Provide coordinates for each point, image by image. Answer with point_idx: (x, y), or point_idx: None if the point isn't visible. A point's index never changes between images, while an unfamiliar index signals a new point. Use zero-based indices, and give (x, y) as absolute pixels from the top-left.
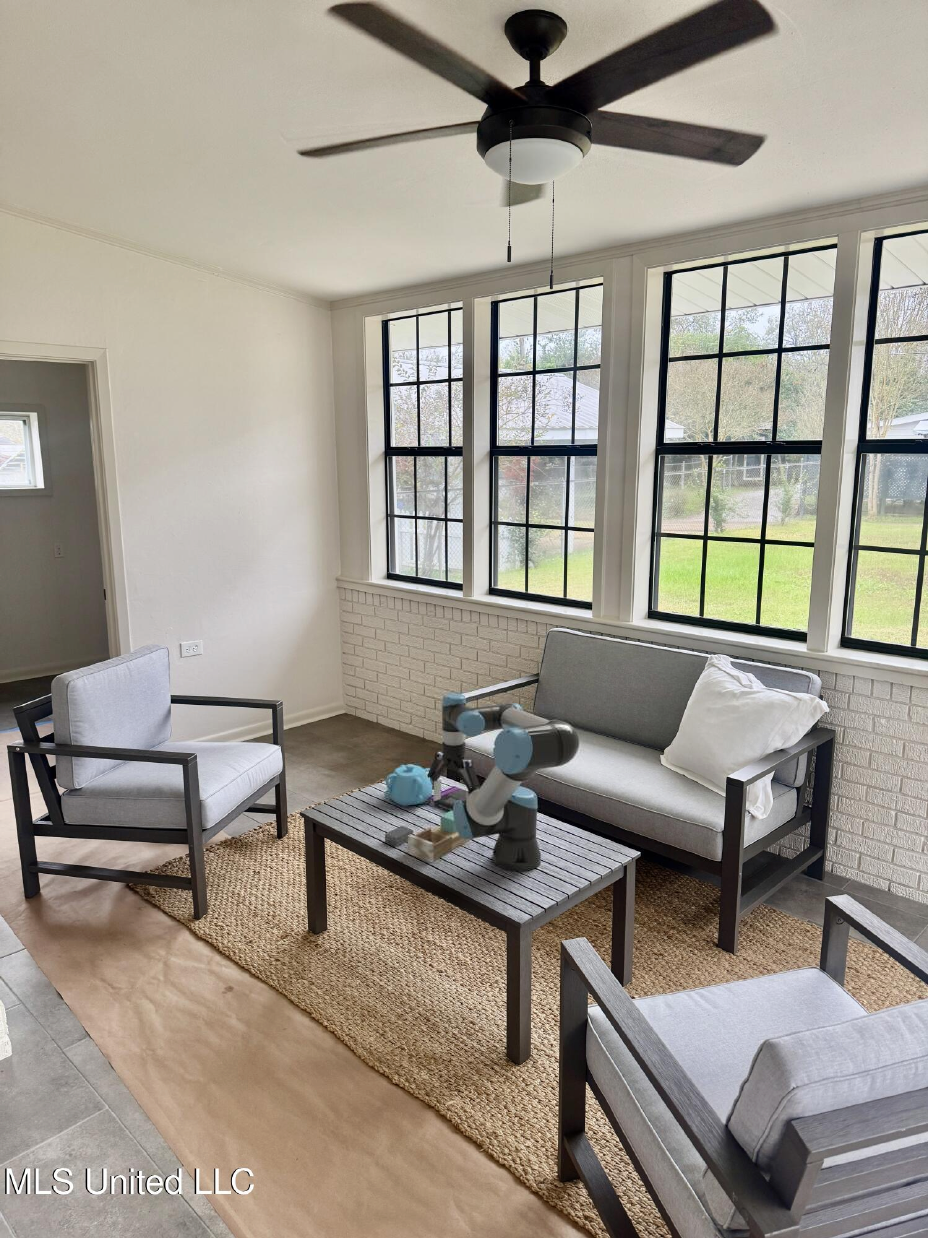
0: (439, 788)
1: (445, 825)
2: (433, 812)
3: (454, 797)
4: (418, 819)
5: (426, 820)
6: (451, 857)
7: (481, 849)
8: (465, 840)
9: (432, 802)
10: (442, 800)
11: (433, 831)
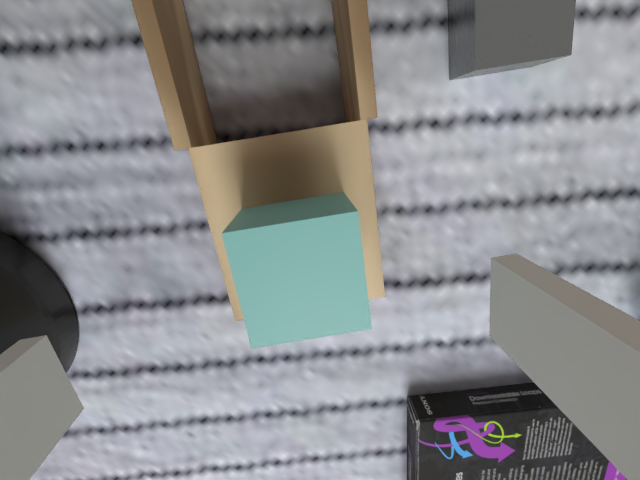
0: (596, 418)
1: (304, 205)
2: None
3: (558, 465)
4: (569, 247)
5: None
6: (146, 95)
7: (139, 268)
8: None
9: None
10: None
11: (345, 132)
